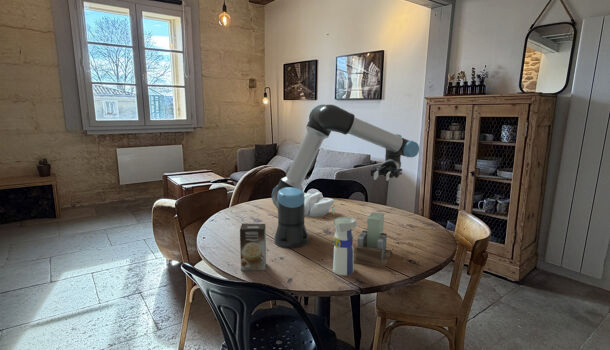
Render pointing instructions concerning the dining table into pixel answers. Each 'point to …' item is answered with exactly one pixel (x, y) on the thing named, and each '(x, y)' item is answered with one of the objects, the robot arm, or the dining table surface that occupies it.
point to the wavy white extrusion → (316, 205)
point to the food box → (253, 246)
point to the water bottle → (343, 245)
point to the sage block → (374, 228)
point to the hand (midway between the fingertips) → (380, 176)
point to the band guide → (372, 251)
